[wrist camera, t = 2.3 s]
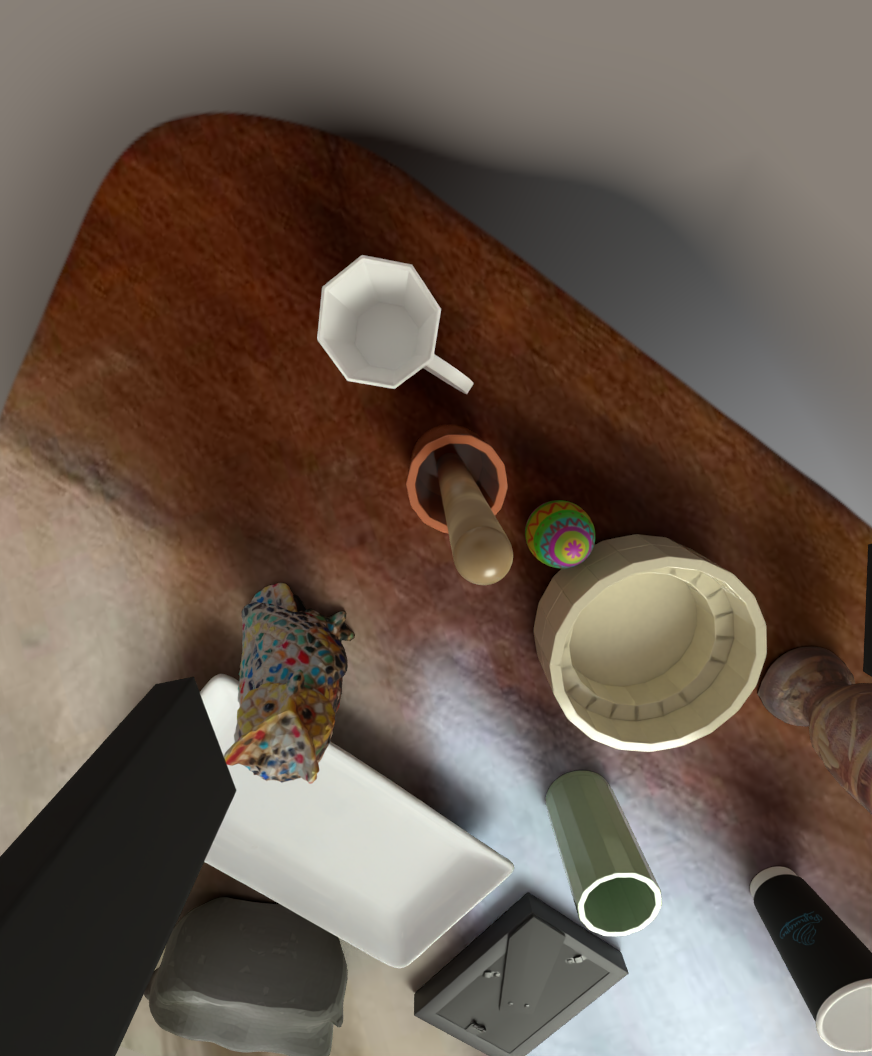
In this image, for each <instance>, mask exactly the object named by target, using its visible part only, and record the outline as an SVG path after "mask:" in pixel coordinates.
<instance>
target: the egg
mask: <svg viewBox="0 0 872 1056" xmlns="http://www.w3.org/2000/svg"><path fill="white" fill-rule="evenodd" d="M525 538H526V542H527V545H528V547H529V549H530V551H531V552H532V554H533V555H534V556H535V557H536V558H537V559H538V560H539V561H541V562H542V563H544V564H546V565H548V566H550V567H554V568H560V569H566V568H572V567H575V566H577V565H579V564H581V563H582V562H584V561H585V560H586V559H587V558H588V557H589V555H590V554H591V552H592V550H593V548H594V544H595V529H594V525H593V523H592V521H591V519H590V517H589V516H588V514H587V513H586V512H585V511H584V510H583V509H582V508H580V507H579V506H577V505H576V504H574V503H571V502H568V501H563V500H554V501H549V502H546V503H544V504H542V505H540V506H539V507H537V508H536V509H535V510H534V511H533V512H532V513H531V515H530V516H529V518H528V520H527V523H526V528H525Z"/></svg>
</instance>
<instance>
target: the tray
mask: <svg viewBox="0 0 872 1056" xmlns="http://www.w3.org/2000/svg"><path fill="white" fill-rule="evenodd" d="M238 686H239V681H238V680H236V679H234V678H233V677H231V676H229V675H226V674H218V675H216V676H214V677H213V678H212V679H210V681H209V682H208V683H207V684H206V685H205V686H204V688H203V689H202V690H201V691H200V695H201V697H202V700H203V703H204V705H205V708H206V711H207V713H208V716H209V719H210V721H211V724H212V727H213V729H214V732H215V735H216V737H217V740H218V743H219V745H220V748H221V750H222V753H223V756H224V754H225V752H226V751H227V750H228V749H229V748H230V747H231V746H232V745H233V744H234V743H235V740H234V734H235V732H236V725H237V710H238V709H239V707H240V704H239V702H238ZM318 764H319V772H318V773H317V779H316V780H315V781H314V782H313V783H311V784H309V783H308V781H305V780H303V779H302V778H298V779H295V780H290V781H286V782H282V783H281V782H280V781H275V780H268V781H266V780H264V779H262V778H261V777H259V776H258V775H254V774H253V772H251V771H249V769H248V768H246V767H245V766H243V765H241V764H236V765H233V766H230V765H227V766H228V769H229V772H230V774H231V777H232V780H233V782H234V785H235V788H236V790H237V791H236V793H235V795H234V797H233V800H232V802H231V804H230V806H229V808H228V811H227V813H226V815H225V817H224V819H223V822H222V824H221V826H220V828H219V830H218V832H217V835H216V837H215V839H214V841H213V843H212V846H211V848H210V850H209V852H208V854H207V856H206V859H205V861H204V862H206V863H207V864H209V865H211V866H213V867H215V868H216V869H218V870H220V871H222V872H223V873H225V874H227V875H229V876H231V877H232V878H234V879H236V880H238V881H240V882H241V883H243V884H245V885H247V886H249V887H250V888H252V889H254V890H256V891H258V892H259V893H261V894H263V895H265V896H266V897H268V898H270V899H272V900H274V901H275V902H277V903H279V904H281V905H282V906H284V907H286V908H288V909H289V910H291V911H293V912H295V913H296V914H298V915H300V916H302V917H303V918H305V919H307V920H309V921H310V922H312V923H314V924H316V925H317V926H319V927H321V928H323V929H324V930H326V931H328V932H330V933H332V934H333V935H335V936H337V937H339V938H340V939H342V940H344V941H346V942H347V943H349V944H351V945H353V946H355V947H356V948H358V949H360V950H362V951H363V952H365V953H367V954H369V955H370V956H372V957H374V958H376V959H377V960H379V961H381V962H383V963H385V964H387V965H389V966H391V967H394V968H403V967H406V966H407V965H409V964H410V963H412V962H413V961H414V960H415V959H416V958H417V957H419V956H420V955H421V954H422V953H423V952H424V951H425V950H426V949H427V948H428V947H430V946H431V945H432V944H433V943H434V942H435V941H436V940H437V939H438V938H440V937H441V936H442V935H443V934H444V933H445V932H446V931H447V930H449V929H450V928H451V927H452V926H453V925H454V924H455V923H456V922H458V921H459V920H460V919H461V918H462V917H463V916H464V915H466V914H467V913H468V912H469V911H470V910H471V909H472V908H473V907H474V906H476V905H477V904H478V903H479V902H480V901H481V900H482V899H484V898H485V897H486V896H487V895H488V894H489V893H490V892H492V891H493V890H494V889H495V888H496V887H497V886H499V885H500V884H501V883H502V882H503V881H504V880H505V879H506V878H507V877H508V876H509V875H510V874H511V873H512V872H513V870H514V865H513V863H512V862H511V861H510V860H509V859H507V858H505V857H504V856H502V855H500V854H499V853H498V852H496V851H495V850H493V849H492V848H490V847H489V846H487V845H486V844H484V843H483V842H481V841H480V840H478V839H477V838H475V837H474V836H472V835H471V834H469V833H468V832H466V831H465V830H463V829H462V828H460V827H459V826H457V825H456V824H454V823H453V822H451V821H450V820H448V819H447V818H445V817H444V816H443V815H441V814H440V813H438V812H437V811H435V810H434V809H432V808H431V807H429V806H428V805H426V804H425V803H423V802H422V801H420V800H419V799H418V798H416V797H415V796H413V795H412V794H410V793H409V792H407V791H406V790H404V789H403V788H401V787H400V786H398V785H397V784H396V783H394V782H393V781H391V780H390V779H388V778H387V777H385V776H383V775H382V774H380V773H379V772H377V771H376V770H374V769H373V768H371V767H370V766H368V765H367V764H365V763H364V762H362V761H361V760H359V759H357V758H356V757H354V756H353V755H351V754H350V753H348V752H347V751H345V750H343V749H342V748H340V747H339V746H337V745H336V744H334V743H333V742H331V741H330V743H329V745H328V747H327V749H326V750H325V753H324V755H323V757H322V759H321V760H320V762H319V763H318Z"/></svg>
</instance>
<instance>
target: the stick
mask: <svg viewBox="0 0 872 1056" xmlns="http://www.w3.org/2000/svg"><path fill="white" fill-rule="evenodd" d="M436 468H437V474H438V479H439V485H440V490H441V495H442V501H443V506H444V511H445V517H446V522H447V527H448V532H449V538H450V543H451V548H452V554H453V559H454V563H455V566H456V568H457V570H458V572H459V573H460V574H461V576H462V577H463V578H465V579H466V580H467V581H469V582H472V583H474V584H477V585H490V584H493V583H496V582H498V581H499V580H501V579H502V578H503V577H504V576H505V575H506V574H507V573H508V571H509V570H510V568H511V565H512V562H513V550H512V546H511V543H510V541H509V539H508V538H507V536H506V534H505V532H504V531H503V529H502V527H501V526H500V524H499V522H498V520H497V519H496V517H495V515H494V514H493V512H492V510H491V508H490V507H489V505H488V503H487V501H486V500H485V498H484V496H483V495H482V493H481V491H480V489H479V488H478V486H477V484H476V483H475V481H474V479H473V477H472V476H471V474H470V472H469V471H468V469H467V467H466V465H465V464H464V462H463V460H462V459H461V457H460V456H458V455H457V454H455V453H446V454H444V455H442V456H441V457H440V458H439V459H438V461H437V465H436Z"/></svg>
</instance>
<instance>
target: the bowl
mask: <svg viewBox="0 0 872 1056" xmlns="http://www.w3.org/2000/svg"><path fill="white" fill-rule="evenodd" d="M534 638H535V644H536V650H537V656H538V659H539V661H540V664H541V666H542V668H543V671H544V673H545V675H546V678H547V680H548V682H549V685H550V687H551V689H552V691H553V694H554V696H555V698H556V699H557V701H558V703H559V705H560V706H561V708H562V710H563V712H564V713H565V715H566V717H567V719H568V720H569V721H570V722H572V723H573V724H574V725H575V726H576V727H578V728H579V729H580V730H581V731H582V732H583V733H585V734H586V735H587V736H588V737H589V738H591V739H593V740H595V741H598V742H601V743H603V744H606V745H608V746H611V747H613V748H616V749H619V750H631V751H643V752H653V751H658V750H664V749H669V748H675V747H680V746H684V745H686V744H688V743H690V742H693V741H695V740H697V739H699V738H701V737H703V736H706V735H708V734H710V733H712V732H713V731H714V730H716V729H717V728H718V727H719V726H720V725H722V724H723V723H724V722H725V721H726V720H728V719H729V718H730V717H731V716H733V715H734V714H735V713H736V712H737V711H739V709H740V708H741V706H742V705H743V704H744V702H745V701H746V699H747V698H748V697H749V695H750V694H751V692H752V691H753V689H754V688H755V687H756V684H757V682H758V679H759V676H760V673H761V670H762V667H763V664H764V661H765V658H766V654H767V639H766V623H765V621H764V618H763V616H762V613H761V611H760V608H759V606H758V603H757V601H756V598H755V597H754V595H753V594H752V593H751V592H750V591H749V590H748V589H747V588H746V586H745V585H744V584H743V583H742V582H741V581H740V580H739V579H738V578H737V577H736V576H735V575H734V574H732V573H731V572H729V571H728V570H726V569H724V568H722V567H721V566H719V565H717V564H716V563H714V562H712V561H710V560H709V559H707V558H705V557H704V556H702V555H700V554H699V553H697V552H695V551H694V550H692V549H690V548H688V547H685V546H683V545H681V544H679V543H677V542H675V541H673V540H671V539H668V538H666V537H657V536H648V535H639V534H636V535H629V536H624V537H619V538H614V539H609V540H605V541H602V542H600V543H598V544H596V545H594V548H593V550H592V552H591V554H590V555H589V557H588V558H587V559H586V560H585V561H584V562H582V563H581V564H579V565H577V566H575V567H572V568H566V569H561V570H560V571H559V572H558V573H557V574H556V575H555V576H554V577H553V578H552V580H551V582H550V583H549V585H548V587H547V589H546V591H545V592H544V594H543V596H542V598H541V600H540V601H539V604H538V609H537V614H536V619H535V624H534Z"/></svg>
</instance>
